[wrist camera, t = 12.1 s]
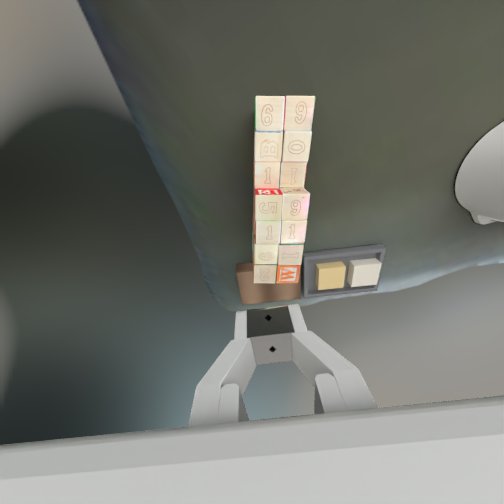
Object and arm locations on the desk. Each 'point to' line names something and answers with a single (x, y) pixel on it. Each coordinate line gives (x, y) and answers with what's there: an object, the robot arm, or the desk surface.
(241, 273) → the walnut ledge
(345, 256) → the tray
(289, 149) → the stack of blocks
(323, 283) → the ochre tile
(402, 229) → the desk surface
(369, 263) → the cream tile
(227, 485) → the robot arm
